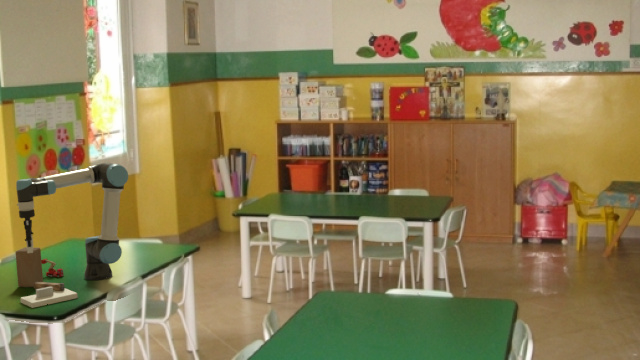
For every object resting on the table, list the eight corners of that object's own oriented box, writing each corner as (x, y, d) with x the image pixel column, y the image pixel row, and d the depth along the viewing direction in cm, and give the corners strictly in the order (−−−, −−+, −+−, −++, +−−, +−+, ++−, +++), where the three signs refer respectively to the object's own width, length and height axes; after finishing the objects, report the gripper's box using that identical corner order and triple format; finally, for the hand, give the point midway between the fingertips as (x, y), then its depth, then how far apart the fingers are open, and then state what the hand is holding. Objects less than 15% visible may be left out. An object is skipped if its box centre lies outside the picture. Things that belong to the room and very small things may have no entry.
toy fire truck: (61, 277, 483) (59, 260, 482) (40, 276, 488) (39, 259, 486) (64, 276, 486) (63, 259, 485) (44, 274, 491) (43, 258, 489)
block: (34, 287, 462) (31, 251, 460) (17, 287, 464) (14, 251, 462) (43, 282, 472) (41, 247, 469) (27, 282, 474) (24, 247, 471)
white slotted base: (65, 292, 450) (64, 280, 449) (77, 297, 439) (76, 285, 439) (20, 302, 434) (19, 289, 433) (32, 307, 424) (31, 295, 423)
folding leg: (65, 289, 446) (65, 283, 446) (62, 290, 444) (62, 284, 443) (38, 287, 452) (37, 281, 451) (34, 288, 449) (33, 282, 449)
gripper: (19, 206, 449) (23, 245, 453) (17, 214, 426) (22, 256, 429) (34, 204, 452) (38, 244, 455) (33, 212, 428) (37, 254, 431)
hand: (30, 250), depth 442 cm, fingers open, 13 cm apart
